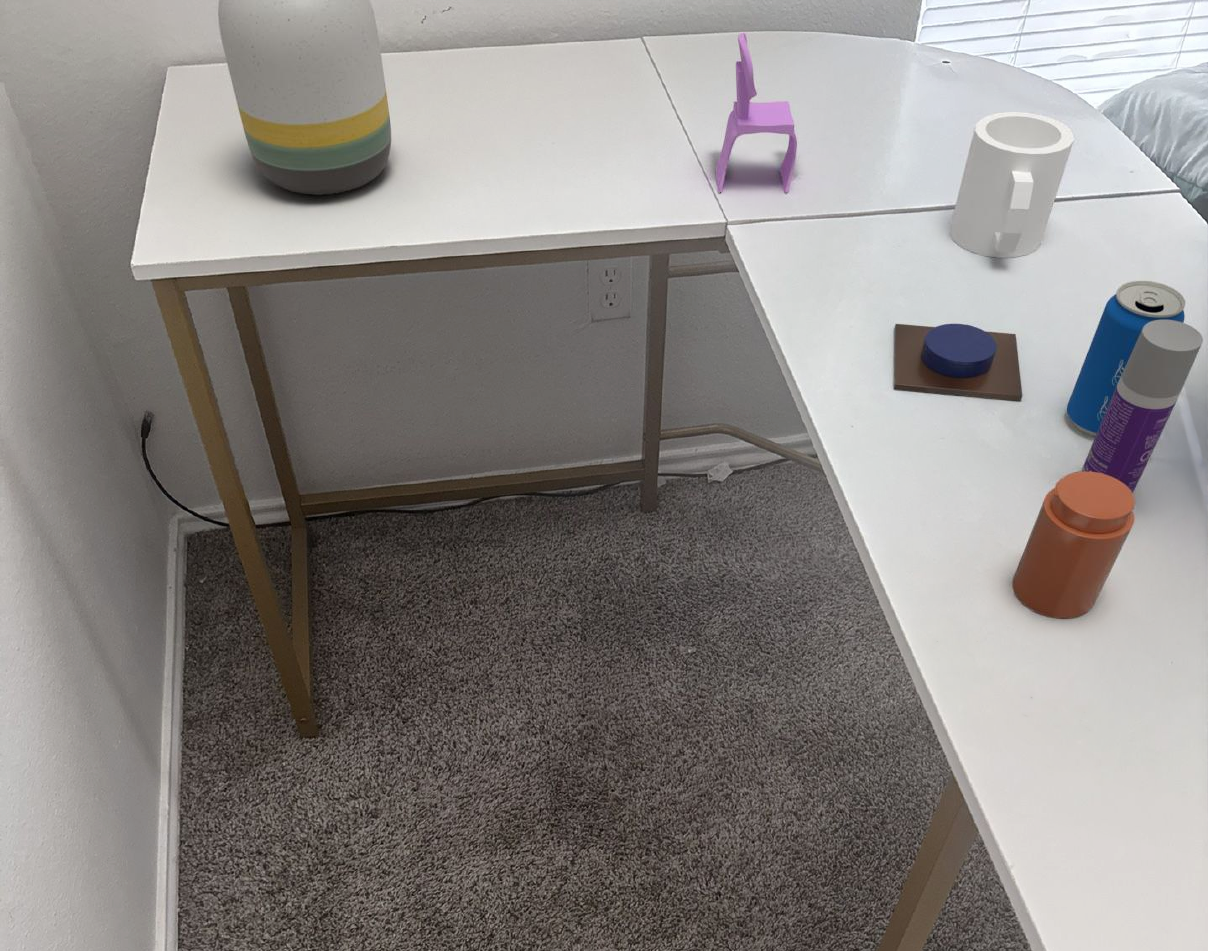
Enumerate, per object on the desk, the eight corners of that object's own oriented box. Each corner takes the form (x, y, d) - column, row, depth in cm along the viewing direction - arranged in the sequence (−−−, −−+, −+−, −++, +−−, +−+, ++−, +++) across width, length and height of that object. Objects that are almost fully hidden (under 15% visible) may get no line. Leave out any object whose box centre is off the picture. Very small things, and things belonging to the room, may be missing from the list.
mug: (1052, 275, 118) (1087, 170, 109) (957, 271, 118) (984, 166, 110) (1034, 215, 126) (1065, 113, 117) (944, 211, 126) (969, 110, 118)
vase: (296, 223, 125) (239, -31, 105) (233, 169, 133) (169, -76, 114) (423, 182, 131) (391, -65, 111) (356, 133, 139) (315, -105, 120)
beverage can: (1061, 435, 100) (1110, 310, 91) (1065, 396, 104) (1112, 273, 94) (1134, 448, 99) (1191, 323, 90) (1135, 408, 103) (1190, 284, 93)
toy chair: (793, 197, 128) (812, 50, 116) (718, 197, 128) (730, 50, 116) (785, 165, 133) (803, 21, 121) (714, 165, 133) (724, 22, 121)
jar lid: (910, 365, 106) (914, 349, 105) (933, 332, 110) (938, 316, 108) (979, 385, 104) (984, 369, 103) (1000, 351, 108) (1006, 334, 106)
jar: (1091, 567, 90) (1136, 471, 82) (1099, 623, 86) (1147, 527, 78) (1010, 558, 90) (1047, 462, 83) (1014, 613, 86) (1053, 517, 79)
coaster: (1014, 339, 110) (1015, 333, 110) (1020, 401, 104) (1022, 395, 103) (894, 328, 111) (895, 323, 111) (893, 389, 105) (894, 384, 104)
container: (1125, 518, 93) (1202, 356, 81) (1069, 505, 94) (1137, 344, 82) (1131, 486, 96) (1206, 325, 84) (1076, 474, 97) (1143, 313, 85)
